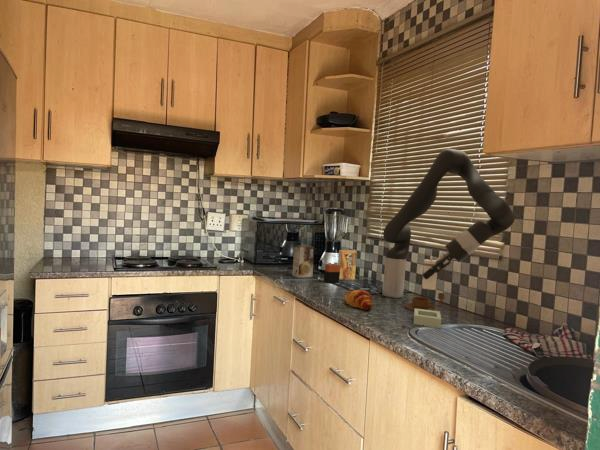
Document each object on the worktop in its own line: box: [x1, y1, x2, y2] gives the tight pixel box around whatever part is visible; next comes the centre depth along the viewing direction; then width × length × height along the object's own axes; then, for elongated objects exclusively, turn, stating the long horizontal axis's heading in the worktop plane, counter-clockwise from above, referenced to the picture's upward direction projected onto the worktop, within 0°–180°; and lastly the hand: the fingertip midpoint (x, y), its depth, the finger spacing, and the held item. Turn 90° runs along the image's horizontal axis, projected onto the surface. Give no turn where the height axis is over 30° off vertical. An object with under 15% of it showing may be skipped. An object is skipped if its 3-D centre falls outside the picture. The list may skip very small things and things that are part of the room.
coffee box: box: [292, 245, 315, 278], centre depth 234 cm, size 9×6×16 cm
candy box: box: [337, 249, 358, 281], centre depth 237 cm, size 9×4×15 cm, turn 107°
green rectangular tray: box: [413, 307, 443, 329], centre depth 160 cm, size 12×9×3 cm
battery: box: [323, 262, 340, 284], centre depth 224 cm, size 4×7×10 cm, turn 113°
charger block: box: [421, 255, 438, 291], centre depth 159 cm, size 5×5×12 cm
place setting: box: [405, 292, 445, 312], centre depth 180 cm, size 18×20×6 cm
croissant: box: [344, 289, 373, 311], centre depth 178 cm, size 21×10×8 cm, turn 17°
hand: (424, 276), depth 159 cm, fingers closed on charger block, 4 cm apart
